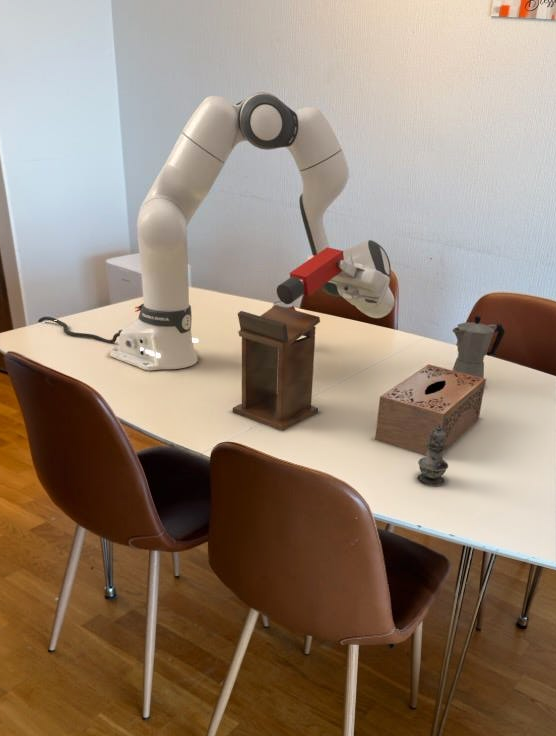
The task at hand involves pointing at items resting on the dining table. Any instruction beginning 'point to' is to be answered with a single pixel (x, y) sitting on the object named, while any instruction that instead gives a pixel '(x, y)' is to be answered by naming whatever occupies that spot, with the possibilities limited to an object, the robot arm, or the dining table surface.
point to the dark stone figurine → (433, 459)
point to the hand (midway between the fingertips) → (328, 260)
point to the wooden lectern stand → (277, 366)
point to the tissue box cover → (429, 408)
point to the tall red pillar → (310, 275)
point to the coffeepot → (475, 346)
